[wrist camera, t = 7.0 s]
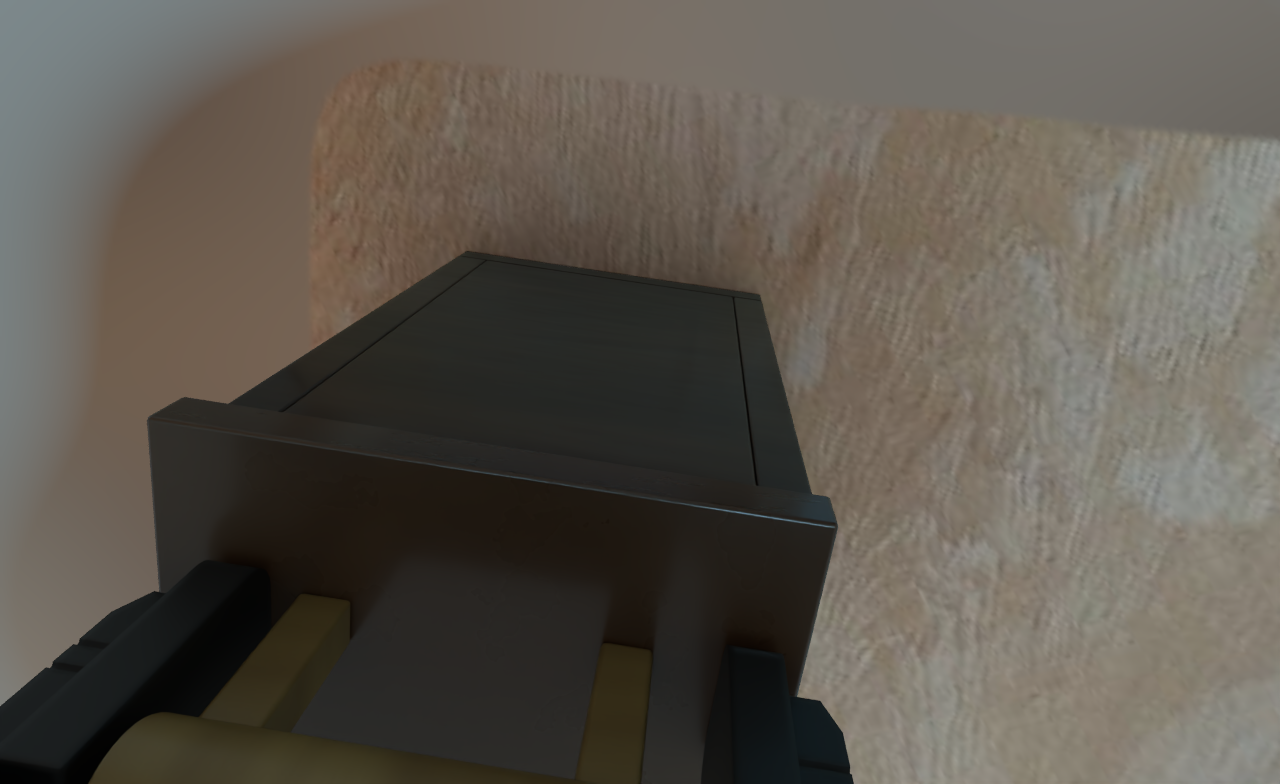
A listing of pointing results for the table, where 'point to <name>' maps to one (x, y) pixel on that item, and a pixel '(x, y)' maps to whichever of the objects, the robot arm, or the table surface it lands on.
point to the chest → (561, 370)
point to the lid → (464, 605)
